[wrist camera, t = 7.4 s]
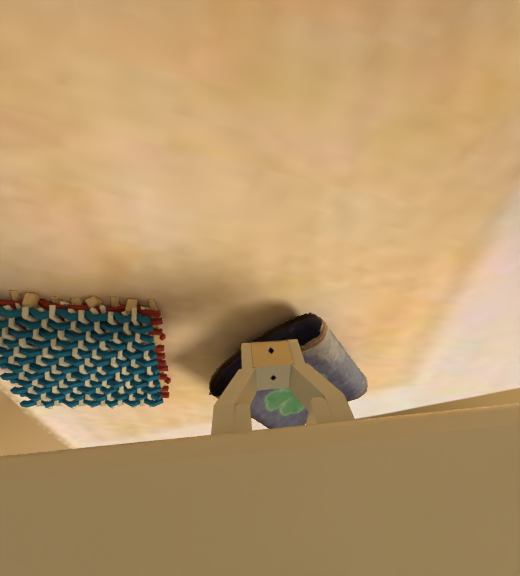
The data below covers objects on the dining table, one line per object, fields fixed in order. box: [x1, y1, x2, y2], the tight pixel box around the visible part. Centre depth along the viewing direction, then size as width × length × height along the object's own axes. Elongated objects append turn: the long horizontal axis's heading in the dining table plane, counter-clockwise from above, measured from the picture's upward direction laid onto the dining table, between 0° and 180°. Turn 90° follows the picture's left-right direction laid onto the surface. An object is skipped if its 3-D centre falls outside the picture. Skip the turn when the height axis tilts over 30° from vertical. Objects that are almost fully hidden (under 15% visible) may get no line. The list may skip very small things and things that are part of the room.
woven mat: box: [0, 290, 171, 409], centre depth 16 cm, size 10×11×2 cm
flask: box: [209, 313, 368, 429], centre depth 18 cm, size 9×3×11 cm
